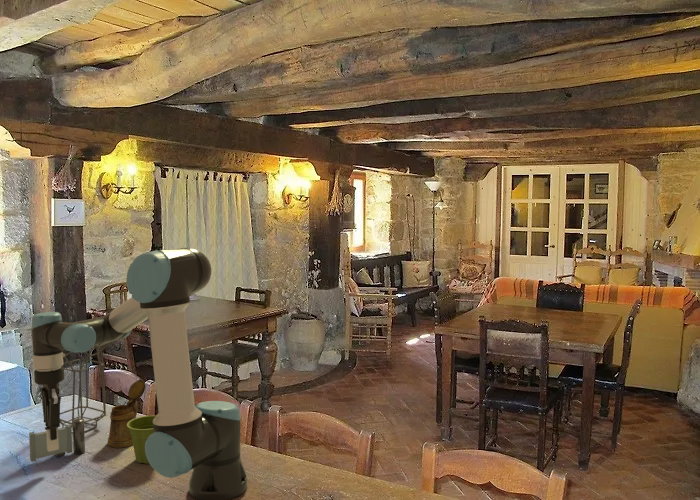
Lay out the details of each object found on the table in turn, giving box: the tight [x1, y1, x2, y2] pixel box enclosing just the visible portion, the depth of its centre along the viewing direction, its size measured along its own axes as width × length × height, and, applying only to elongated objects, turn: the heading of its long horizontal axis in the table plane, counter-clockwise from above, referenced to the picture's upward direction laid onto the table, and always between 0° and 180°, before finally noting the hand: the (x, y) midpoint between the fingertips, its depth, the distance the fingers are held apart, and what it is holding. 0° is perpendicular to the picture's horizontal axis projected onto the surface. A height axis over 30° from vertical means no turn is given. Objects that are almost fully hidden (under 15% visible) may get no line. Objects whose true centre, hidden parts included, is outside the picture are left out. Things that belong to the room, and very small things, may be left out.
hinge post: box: [72, 418, 86, 456], centre depth 184 cm, size 3×3×10 cm
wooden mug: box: [107, 378, 146, 449], centre depth 194 cm, size 9×14×18 cm, turn 155°
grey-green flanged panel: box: [28, 424, 73, 463], centre depth 179 cm, size 11×2×8 cm, turn 128°
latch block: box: [55, 452, 66, 458], centre depth 183 cm, size 2×2×6 cm
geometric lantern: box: [57, 341, 113, 435], centre depth 202 cm, size 16×16×35 cm
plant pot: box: [127, 415, 157, 465], centre depth 180 cm, size 12×12×11 cm
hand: (53, 449), depth 173 cm, fingers closed
